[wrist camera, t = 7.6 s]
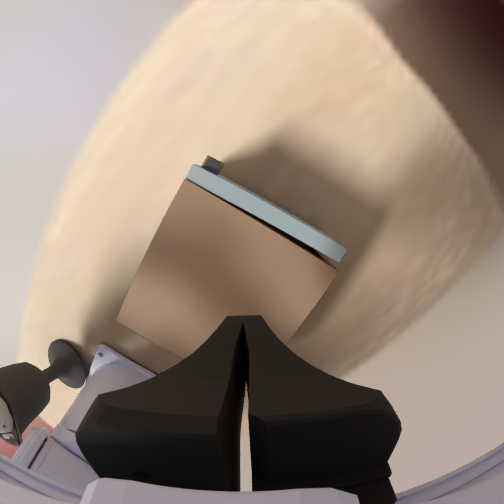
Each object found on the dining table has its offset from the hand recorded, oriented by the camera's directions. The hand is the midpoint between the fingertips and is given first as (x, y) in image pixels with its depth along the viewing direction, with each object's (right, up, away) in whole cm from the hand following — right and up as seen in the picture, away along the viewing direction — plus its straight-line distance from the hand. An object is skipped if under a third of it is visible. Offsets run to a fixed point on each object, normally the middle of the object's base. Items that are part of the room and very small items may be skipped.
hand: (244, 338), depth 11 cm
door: (+1, +7, +8) cm, 10 cm away
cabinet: (-1, +2, +9) cm, 10 cm away
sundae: (-17, -7, +11) cm, 21 cm away
